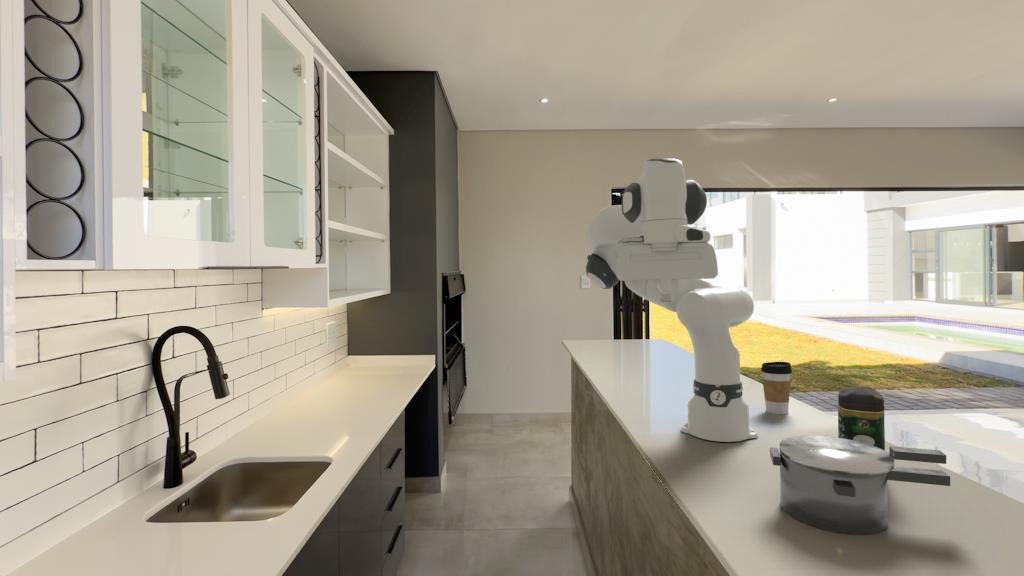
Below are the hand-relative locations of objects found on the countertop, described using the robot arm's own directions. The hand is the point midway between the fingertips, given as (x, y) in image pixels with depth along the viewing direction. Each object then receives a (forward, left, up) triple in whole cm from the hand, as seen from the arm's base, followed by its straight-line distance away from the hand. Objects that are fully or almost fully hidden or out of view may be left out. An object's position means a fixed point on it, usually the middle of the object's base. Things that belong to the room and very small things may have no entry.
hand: (666, 301), depth 106 cm
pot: (+7, +32, -37) cm, 49 cm away
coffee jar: (-12, +37, -37) cm, 54 cm away
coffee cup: (-62, +27, -37) cm, 77 cm away
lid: (+7, +32, -27) cm, 43 cm away
